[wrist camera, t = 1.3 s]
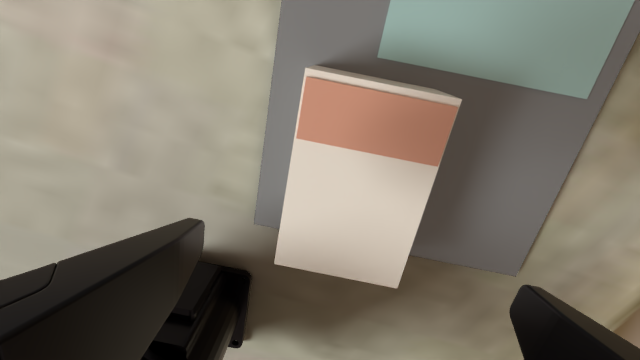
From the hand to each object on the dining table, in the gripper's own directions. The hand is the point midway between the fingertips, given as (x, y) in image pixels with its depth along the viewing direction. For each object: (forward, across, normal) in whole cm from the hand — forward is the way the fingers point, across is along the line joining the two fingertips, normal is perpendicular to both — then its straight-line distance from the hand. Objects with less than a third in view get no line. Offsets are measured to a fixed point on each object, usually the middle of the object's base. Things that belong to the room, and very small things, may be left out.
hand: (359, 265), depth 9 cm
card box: (+9, 0, 0) cm, 9 cm away
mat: (+10, -3, -5) cm, 11 cm away
